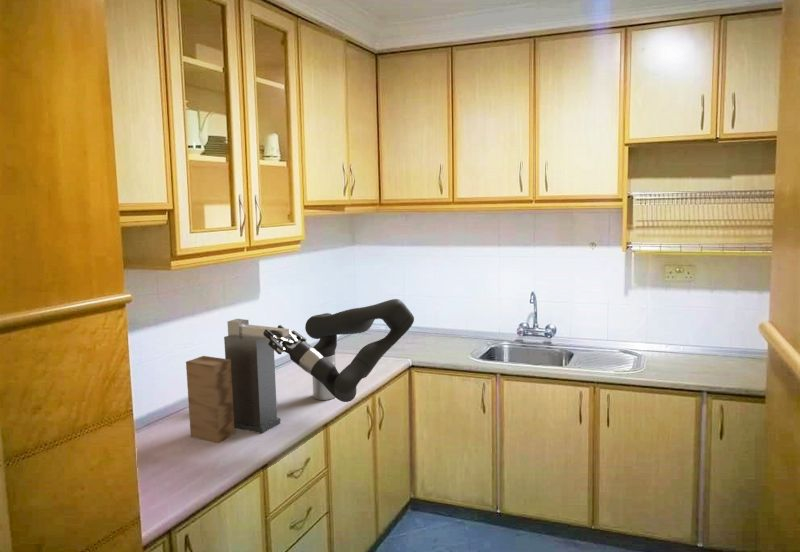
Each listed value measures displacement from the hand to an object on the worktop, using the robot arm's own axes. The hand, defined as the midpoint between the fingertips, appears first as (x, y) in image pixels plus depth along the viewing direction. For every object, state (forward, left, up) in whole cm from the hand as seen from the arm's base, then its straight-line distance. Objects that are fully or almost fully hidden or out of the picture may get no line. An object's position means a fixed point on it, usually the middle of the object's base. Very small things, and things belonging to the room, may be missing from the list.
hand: (271, 329), depth 211 cm
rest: (+13, -16, -35) cm, 41 cm away
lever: (0, -5, -3) cm, 6 cm away
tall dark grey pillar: (0, -10, -35) cm, 37 cm away
